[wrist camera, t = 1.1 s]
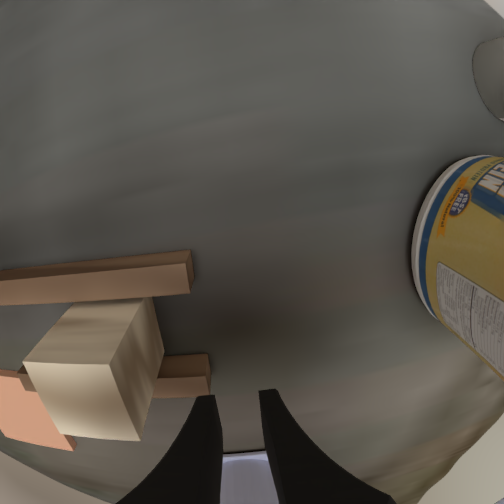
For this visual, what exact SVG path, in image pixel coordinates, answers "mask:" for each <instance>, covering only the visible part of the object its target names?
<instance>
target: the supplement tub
mask: <svg viewBox="0 0 504 504" xmlns="http://www.w3.org/2000/svg"><path fill="white" fill-rule="evenodd" d="M411 260H412V271H413V277H414V282H415V286H416V289H417V291H418V294H419V296H420V298H421V300H422V301H423V303H424V305H425V306H426V308H427V309H428V311H429V312H430V313H431V314H432V316H434V317H435V318H436V319H437V320H439V321H440V322H441V323H442V324H443V325H445V326H446V327H447V328H448V329H449V330H450V331H451V332H452V333H453V334H454V335H456V336H457V337H458V338H459V339H460V340H461V341H462V342H463V343H464V344H465V345H466V346H468V347H469V348H470V349H471V350H472V351H473V352H474V353H475V354H476V355H477V356H478V357H479V358H480V359H481V360H482V361H483V362H484V363H486V364H487V365H488V366H489V367H490V368H491V369H492V370H493V371H494V372H495V373H496V374H497V375H498V376H499V377H500V378H501V379H502V380H503V381H504V157H495V156H491V155H479V156H473V157H468V158H465V159H462V160H460V161H458V162H456V163H454V164H453V165H451V166H450V167H449V168H447V169H446V170H445V171H444V172H443V173H442V174H441V176H440V177H439V178H438V179H437V180H436V182H435V183H434V185H433V186H432V187H431V189H430V191H429V192H428V194H427V196H426V198H425V200H424V202H423V204H422V207H421V209H420V212H419V215H418V217H417V221H416V225H415V229H414V234H413V240H412V252H411Z"/></svg>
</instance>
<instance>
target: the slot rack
mask: <svg viewBox="0 0 504 504" xmlns="http://www.w3.org/2000/svg"><path fill="white" fill-rule="evenodd" d="M194 277H195V276H194V269H193V262H192V255H191V250H182V251H173V252H163V253H154V254H144V255H135V256H126V257H116V258H107V259H98V260H89V261H80V262H71V263H62V264H53V265H44V266H35V267H27V268H18V269H9V270H1V271H0V305H22V304H45V303H64V302H81V301H97V300H112V299H127V298H140V297H153V296H165V295H177V294H188V293H190V292H191V288H192V284H193V281H194ZM17 375H18V377H19V379H20V381H21V383H22V385H23V387H24V389H25V391H31V392H37V391H36V389H35V387H34V385H33V383H32V381H31V379H30V377H29V375H28V372H27V370H26V368H25V366H24V365H23V366H22V367H21V368H20V370H19V371H18V372H17ZM210 385H211V369H210V364H209V359H208V354H193V355H176V356H163V359H162V362H161V366H160V369H159V373H158V376H157V380H156V384H155V387H154V391H153V395H152V398H186V397H198V396H202V395H210Z"/></svg>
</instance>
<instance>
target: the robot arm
mask: <svg viewBox="0 0 504 504" xmlns="http://www.w3.org/2000/svg"><path fill="white" fill-rule="evenodd" d="M259 399H260V409H261V419H262V428H263V436H264V443H265V449H266V451H259V452H249V453H237V454H223V436H222V427H221V422H220V418H219V413H218V408H217V404H216V399H215V395H202V396H198V397H197V398H196V400H195V403H194V405H193V407H192V410H191V412H190V414H189V416H188V418H187V420H186V422H185V424H184V425H183V427H182V429H181V431H180V433H179V434H178V436H177V438H176V439H175V441H174V442H173V444H172V445H171V447H170V448H169V450H168V451H167V453H166V454H165V455H164V457H163V458H162V459H161V461H160V462H159V463H158V464H157V465H156V467H155V468H154V469H153V470H152V471H151V472H150V473H149V474H148V476H147V477H146V478H145V479H144V480H143V481H142V482H141V483H140V484H139V485H138V486H137V487H135V488H134V489H133V490H132V491H131V492H130V493H128V494H127V495H126V496H125V497H124V498H122V499H121V500H120V501H118V502H117V503H116V504H396V502H395V501H394V500H393V498H392V497H391V496H390V495H388V494H386V493H383V492H381V491H379V490H377V489H375V488H373V487H371V486H370V485H368V484H366V483H364V482H363V481H361V480H359V479H358V478H356V477H355V476H353V475H352V474H350V473H349V472H347V471H346V470H345V469H343V468H342V467H340V466H339V465H338V464H337V463H335V462H334V461H333V460H332V459H331V458H329V457H328V456H327V455H326V454H325V453H324V452H323V451H322V450H321V449H320V448H319V447H318V446H317V445H316V444H315V443H314V442H313V441H312V440H311V439H310V438H309V437H308V436H307V435H306V433H305V432H304V431H303V430H302V429H301V427H300V426H299V425H298V423H297V422H296V421H295V419H294V418H293V417H292V415H291V414H290V412H289V411H288V409H287V408H286V406H285V404H284V402H283V401H282V399H281V397H280V395H279V392H278V391H277V390H276V389H269V390H261V391H259ZM495 504H504V498H503V499H501V500H500V501H498V502H496V503H495Z"/></svg>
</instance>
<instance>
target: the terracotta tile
mask: <svg viewBox="0 0 504 504" xmlns="http://www.w3.org/2000/svg"><path fill="white" fill-rule="evenodd" d="M17 372H18V371H10V370H2V369H0V429H1V430H2V432H3V433H4V435H5V436H6V437H8V438H12V439H16V440H20V441H24V442H29V443H33V444H38V445H42V446H47V447H52V448H58V449H64V450H70V451H74V450H75V447H76V445H77V444H76V442H75V441H74V439H73V438H72V436H71V435H66V434H60V432H59V431H58V429H57V427H56V426H55V424H54V422H53V421H52V419H51V417H50V415H49V414H48V412H47V410H46V408H45V406H44V404H43V403H42V401H41V399H40V397H39V395H38V393H37V392H31V391H25V389H24V387H23V385H22V383H21V381H20V379H19V377H18V375H17Z"/></svg>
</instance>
